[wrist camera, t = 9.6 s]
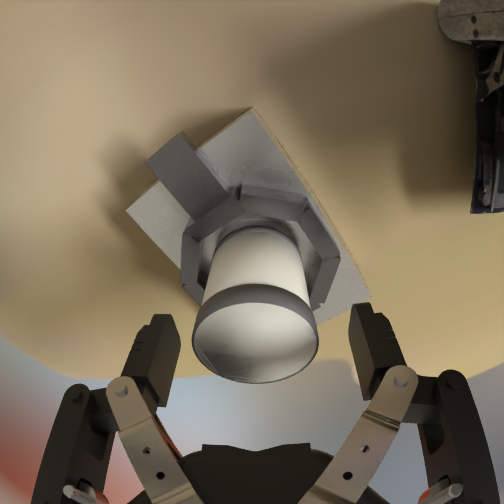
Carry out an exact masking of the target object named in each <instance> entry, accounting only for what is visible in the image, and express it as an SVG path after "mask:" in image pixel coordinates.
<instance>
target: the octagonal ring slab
mask: <svg viewBox="0 0 504 504" xmlns="http://www.w3.org/2000/svg"><path fill="white" fill-rule="evenodd" d="M145 164H146V165H147V166H148V167H149V169H150V170H151V171H152V172H153V173H154V175H155V176H156V177H157V178H158V179H157V180H156V181H155V182H154V183H153V184H152V185H150V186H149V187H148V188H147V189H146V190H145V191H144V192H143V193H142V194H141V195H140V196H139V197H138V198H137V199H136V200H135V202H134V203H133V204H132V205H131V206H130V207H129V208H128V209H127V210H126V212H127V213H128V214H129V215H130V216H131V217H132V218H133V219H134V220H135V222H136V223H137V224H138V225H139V226H140V227H141V228H142V229H143V230H144V232H145V233H146V234H147V235H148V236H149V237H150V238H151V239H152V240H153V241H154V242H155V243H156V245H157V246H158V247H159V248H160V249H161V250H162V251H163V252H164V253H165V254H166V255H167V256H168V257H169V258H170V259H171V261H172V262H173V263H174V264H175V265H176V266H177V267H178V268H179V269H180V283H183V286H182V288H183V289H184V290H185V291H186V292H187V293H188V294H189V295H190V296H191V297H192V298H193V299H194V300H195V301H196V302H197V303H198V304H199V305H200V306H202V302H203V297H204V293H205V289H206V285H207V281H208V277H209V273H210V268H211V261H212V257H213V253H214V250H215V248H216V245H217V242H218V240H219V238H220V237H221V236H222V234H223V233H224V232H225V231H226V230H227V229H228V228H230V227H231V226H233V225H235V224H236V223H239V222H241V221H245V220H250V219H264V220H269V221H272V222H275V223H277V224H279V225H281V226H283V227H284V228H286V229H287V230H288V231H289V232H290V233H291V234H292V235H293V237H294V238H295V240H296V242H297V244H298V247H299V251H300V253H301V257H302V262H303V271H304V276H305V281H306V286H307V291H308V297H309V302H310V307H311V310H312V312H313V314H314V317H315V321H316V326H317V325H319V324H321V323H323V322H325V321H327V320H329V319H331V318H333V317H335V316H337V315H339V314H341V313H343V312H345V311H347V310H349V309H351V308H352V305H353V304H357V303H362V302H364V301H365V300H367V299H369V298H371V297H372V296H371V293H370V291H369V289H368V286H367V284H366V282H365V280H364V277H363V275H362V273H361V271H360V269H359V267H358V264H357V263H356V261H355V259H354V258H353V256H352V254H351V252H350V251H349V249H348V247H347V246H346V244H345V242H344V241H343V239H342V237H341V236H340V234H339V232H338V231H337V229H336V228H335V226H334V224H333V223H332V221H331V219H330V218H329V216H328V215H327V213H326V212H325V210H324V208H323V207H322V205H321V204H320V202H319V201H318V199H317V198H316V196H315V194H314V193H313V191H312V190H311V188H310V187H309V185H308V184H307V182H306V181H305V179H304V178H303V176H302V175H301V173H300V172H299V170H298V169H297V167H296V166H295V165H294V163H293V162H292V160H291V159H290V157H289V156H288V154H287V153H286V152H285V150H284V149H283V147H282V146H281V145H280V143H279V142H278V140H277V139H276V138H275V136H274V135H273V133H272V132H271V131H270V129H269V128H268V127H267V125H266V124H265V122H264V121H263V120H262V118H261V117H260V116H259V114H258V113H257V112H256V110H255V109H254V108H253V107H252V108H251V109H249V110H248V111H246V112H245V113H243V114H242V115H240V116H239V117H238V118H236V119H235V120H233V121H232V122H231V123H229V124H228V125H226V126H225V127H224V128H222V129H221V130H220V131H218V132H217V133H215V134H214V135H213V136H211V137H210V138H209V139H207V140H206V141H205V142H203V143H202V144H201V145H200V146H198V147H196V146H195V145H194V144H193V142H192V141H191V140H190V139H189V138H188V136H187V135H186V134H185V133H184V131H182V132H180V133H179V134H177V135H176V136H175V137H174V138H173V139H171V140H170V141H169V142H168V143H167V144H165V145H164V146H163V147H162V148H161V149H160V150H158V151H157V152H156V153H155V154H154V155H153V156H152V157H150V158H149V159H148V160H147V161H146V162H145Z"/></svg>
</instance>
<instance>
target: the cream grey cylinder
mask: <svg viewBox="0 0 504 504" xmlns="http://www.w3.org/2000/svg"><path fill="white" fill-rule="evenodd" d="M318 346H319V338H318V332H317V327H316V321H315V317H314V314H313V312H312V310H311V307H310V302H309V297H308V291H307V286H306V281H305V276H304V271H303V262H302V257H301V253H300V251H299V247H298V244H297V242H296V240H295V238H294V237H293V235H292V234H291V233H290V232H289V231H288V230H287V229H286V228H284V227H283V226H281V225H279V224H277V223H275V222H272V221H269V220H264V219H250V220H245V221H241V222H239V223H236V224H235V225H233V226H231V227H230V228H228V229H227V230H226V231H225V232H224V233H223V234H222V236H221V237H220V238H219V240H218V242H217V245H216V248H215V250H214V253H213V257H212V261H211V268H210V273H209V277H208V281H207V285H206V289H205V293H204V297H203V302H202V306H201V308H200V310H199V312H198V314H197V317H196V321H195V325H194V330H193V334H192V347H193V351H194V353H195V355H196V357H197V358H198V360H199V361H200V362H201V363H202V364H203V365H204V366H205V367H206V368H207V369H209V370H210V371H212V372H213V373H215V374H217V375H219V376H221V377H223V378H226V379H229V380H232V381H236V382H241V383H250V384H263V383H271V382H276V381H280V380H283V379H286V378H289V377H291V376H294V375H295V374H297V373H299V372H301V371H302V370H303V369H304V368H306V367H307V366H308V365H309V364H310V363H311V361H312V360H313V359H314V357H315V355H316V353H317V351H318Z"/></svg>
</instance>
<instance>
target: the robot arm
mask: <svg viewBox="0 0 504 504" xmlns="http://www.w3.org/2000/svg"><path fill="white" fill-rule="evenodd" d="M348 334H349V342H350V346H351V350H352V354H353V358H354V362H355V366H356V370H357V374H358V378H359V382H360V387H361V391H362V396H363V400H364V401H366V400H371V402H370V404H369V406H368V407H367V409H366V410H365V412H363V414H362V415H361V417H360V418H359V420H358V422H357V423H356V425H355V426H354V428H353V430H352V431H351V433H350V434H349V436H348V437H347V439H346V440H345V442H344V443H343V445H342V447H341V448H340V450H339V451H338V453H337V454H336V455H335V457H334V456H332V455H330V454H328V453H326V452H323V451H319V450H316V449H311V448H310V443H301V444H287V445H281V446H277V447H273V448H269V449H265V450H261V451H249V450H245V449H241V448H236V447H232V446H228V445H207V444H203V445H202V450H201V451H197V452H193V453H191V454H188V455H186V456H184V457H183V456H182V455H181V453H180V452H179V451H178V449H177V448H176V446H175V445H174V443H173V442H172V440H171V438H170V437H169V435H168V433H167V432H166V430H165V428H164V426H163V425H162V423H161V421H160V419H159V418H158V416H157V414H156V411H157V407H166V405H167V401H168V397H169V392H170V388H171V384H172V380H173V376H174V372H175V368H176V364H177V360H178V356H179V352H180V348H181V341H180V336H179V334H178V331H177V328H176V326H175V323H174V320H173V317H172V315H171V314H154V315H153V317H152V320H151V322H150V325H144V326H143V328H142V329H141V330H140V331H139V332H138V333H137V335H136V338H135V340H134V344H133V345H132V348H131V351H130V353H129V355H128V358H127V361H126V363H125V366H124V368H123V371H122V374H121V376H120V377H117V378H115V379H113V380H112V381H111V382H110V383H109V384H108V386H107V388H102V389H96V390H89V389H88V387H87V386H85V385H84V384H75V385H72V386H71V387H69V388H68V389H67V391H66V392H65V394H64V397H63V399H62V402H61V405H60V407H59V410H58V413H57V416H56V418H55V421H54V424H53V427H52V430H51V433H50V436H49V439H48V442H47V445H46V448H45V452H44V455H43V458H42V462H41V466H40V469H39V472H38V476H37V480H36V484H35V488H34V492H33V496H32V500H31V504H109V501H108V499H107V498H106V496H105V495H104V494H103V490H104V485H105V479H106V474H107V469H108V464H109V460H110V455H111V451H112V446H113V442H114V437H115V433H116V431H119V432H118V434H119V437H120V440H121V442H122V444H123V447H124V449H125V451H126V453H127V455H128V457H129V459H130V462H131V464H132V466H133V467H134V470H135V472H136V474H137V476H138V478H139V479H140V481H141V483H142V485H143V487H144V489H145V490H143V491H142V492H141V493H140V494H138V495H137V496H136V497H135V498H134V499H132V500H131V501H130V502H129V503H127V504H390V503H389V502H387V501H386V500H385V499H384V498H382V497H381V496H380V495H379V494H378V493H376V492H375V491H374V490H373V489H372V488H370V487H369V486H368V484H369V482H370V481H371V479H372V478H373V476H374V474H375V473H376V471H377V469H378V467H379V466H380V464H381V462H382V460H383V459H384V457H385V455H386V453H387V451H388V450H389V448H390V446H391V444H392V442H393V440H394V438H395V436H396V434H397V432H398V430H399V428H400V423H401V422H404V423H417V426H418V430H419V435H420V440H421V445H422V450H423V456H424V461H425V467H426V473H427V480H428V487H429V488H428V489H427V490H426V491H424V492H423V493H422V495H421V496H420V498H419V500H418V504H500V499H499V493H498V487H497V482H496V477H495V473H494V468H493V464H492V460H491V456H490V452H489V448H488V444H487V441H486V437H485V434H484V430H483V427H482V424H481V420H480V417H479V414H478V411H477V408H476V405H475V403H474V400H473V397H472V394H471V391H470V388H469V386H468V383H467V381H466V378H465V377H464V375H463V374H461V373H460V372H458V371H456V370H446V371H444V372H442V373H441V374H440V375H439V377H427V376H420V375H417V374H416V372H415V371H414V370H413V369H411V368H410V367H408V366H407V365H406V362H405V360H404V357H403V354H402V352H401V349H400V346H399V344H398V341H397V339H396V338H395V334H394V331H393V330H392V326H391V324H390V322H389V320H388V319H387V318H386V317H385V316H384V315H383V314H382V313H374V312H373V309H372V306H371V304H370V303H369V302H366V303H357V304H353V305H352V309H351V316H350V322H349V330H348Z"/></svg>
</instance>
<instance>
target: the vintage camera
mask: <svg viewBox="0 0 504 504" xmlns="http://www.w3.org/2000/svg"><path fill="white" fill-rule="evenodd" d="M437 17H438V22H439V25H440V28H441V30H442V31H443V32H444V33H445V35H446V36H447V37H448V38H450V39H452V40H455V41H459V42H463V43H467V44H471V45H472V52H473V64H474V76H475V81H476V99H475V110H476V153H475V170H474V183H473V193H472V202H471V210H470V213H471V214H484V213H498V212H504V0H441V1H440V3H439V5H438V10H437Z"/></svg>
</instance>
